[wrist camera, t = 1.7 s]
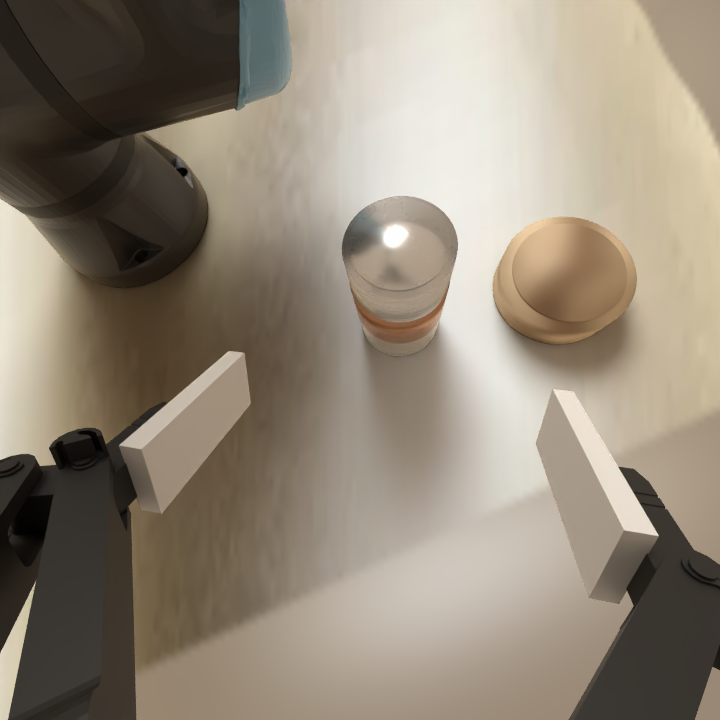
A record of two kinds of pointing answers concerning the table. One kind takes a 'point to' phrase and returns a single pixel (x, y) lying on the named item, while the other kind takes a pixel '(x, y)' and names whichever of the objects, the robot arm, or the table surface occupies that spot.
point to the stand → (563, 280)
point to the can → (400, 271)
